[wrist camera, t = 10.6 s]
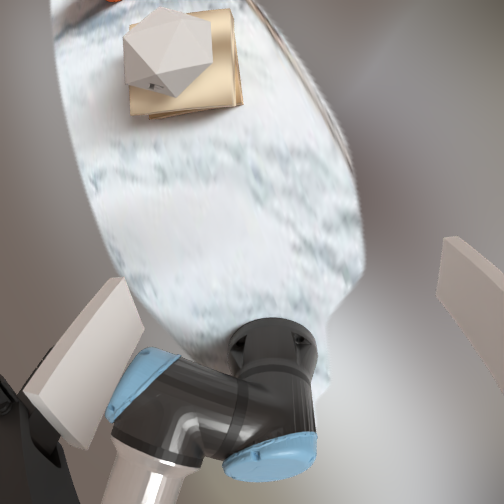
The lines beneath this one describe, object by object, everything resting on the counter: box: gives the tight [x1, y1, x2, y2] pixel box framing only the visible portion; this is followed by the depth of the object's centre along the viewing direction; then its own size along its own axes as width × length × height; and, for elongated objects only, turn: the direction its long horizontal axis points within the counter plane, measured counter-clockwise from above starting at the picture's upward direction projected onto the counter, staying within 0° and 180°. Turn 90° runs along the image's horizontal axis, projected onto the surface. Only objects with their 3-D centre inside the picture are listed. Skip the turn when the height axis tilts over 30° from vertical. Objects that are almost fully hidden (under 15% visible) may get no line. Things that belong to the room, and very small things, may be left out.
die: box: [123, 7, 213, 98], centre depth 22 cm, size 8×9×10 cm
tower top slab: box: [129, 8, 236, 116], centre depth 27 cm, size 11×11×4 cm
